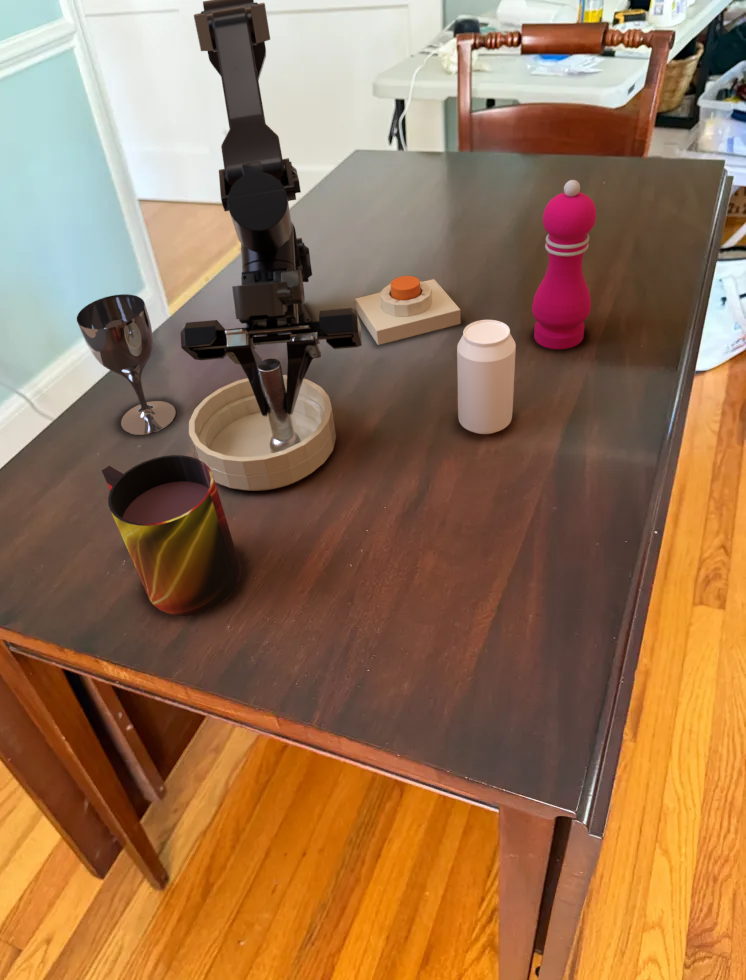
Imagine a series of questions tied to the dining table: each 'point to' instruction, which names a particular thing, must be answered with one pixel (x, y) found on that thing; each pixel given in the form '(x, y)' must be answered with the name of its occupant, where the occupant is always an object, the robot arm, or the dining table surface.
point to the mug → (175, 532)
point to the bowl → (260, 437)
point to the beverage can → (485, 376)
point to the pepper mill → (564, 270)
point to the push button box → (407, 313)
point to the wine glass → (125, 353)
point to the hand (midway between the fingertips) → (277, 415)
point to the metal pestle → (277, 405)
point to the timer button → (405, 288)
